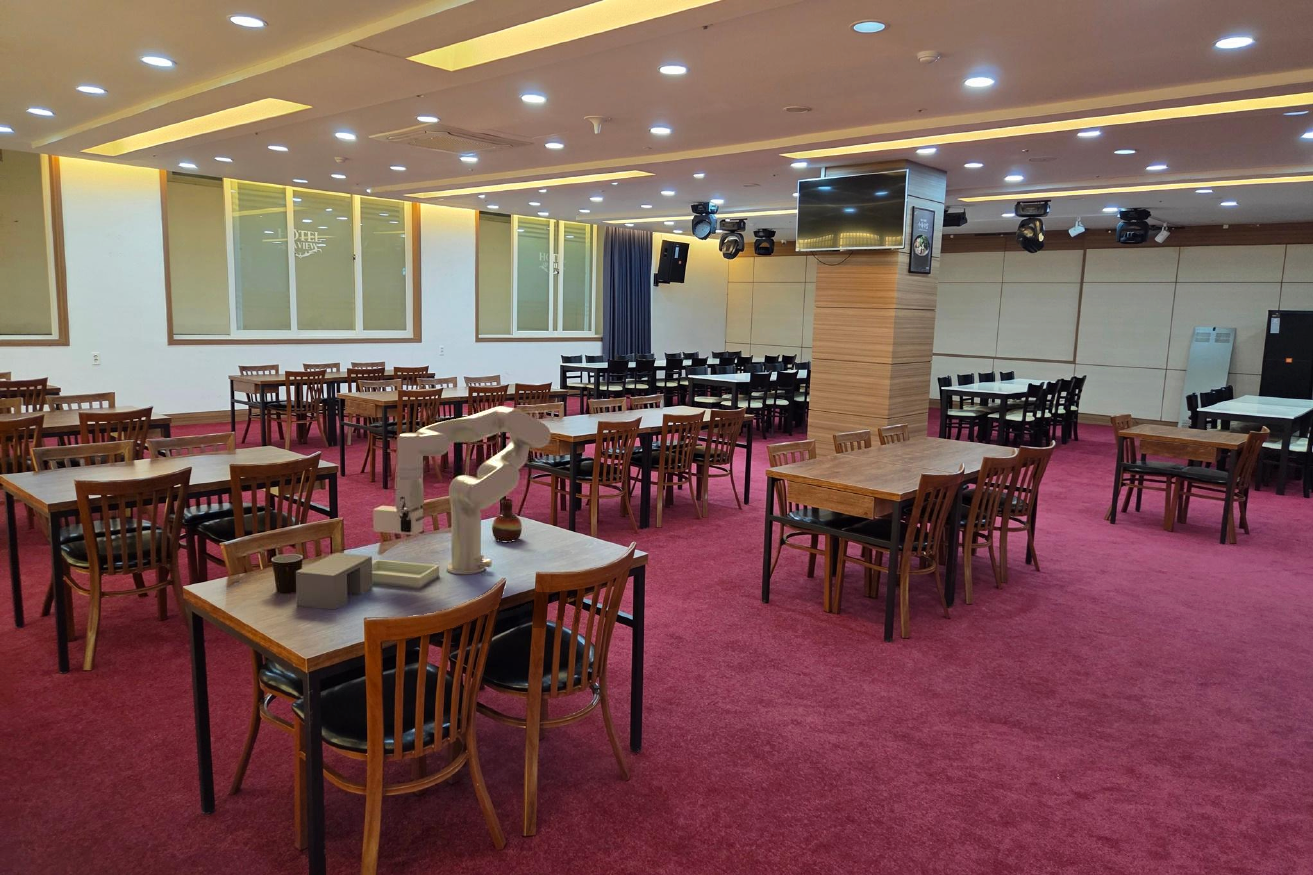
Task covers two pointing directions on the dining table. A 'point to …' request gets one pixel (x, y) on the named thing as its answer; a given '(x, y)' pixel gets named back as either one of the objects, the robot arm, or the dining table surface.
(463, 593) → the dining table surface
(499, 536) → the vase
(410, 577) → the tray
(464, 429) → the robot arm
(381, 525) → the tan cardboard box
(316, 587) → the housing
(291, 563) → the coffee mug
